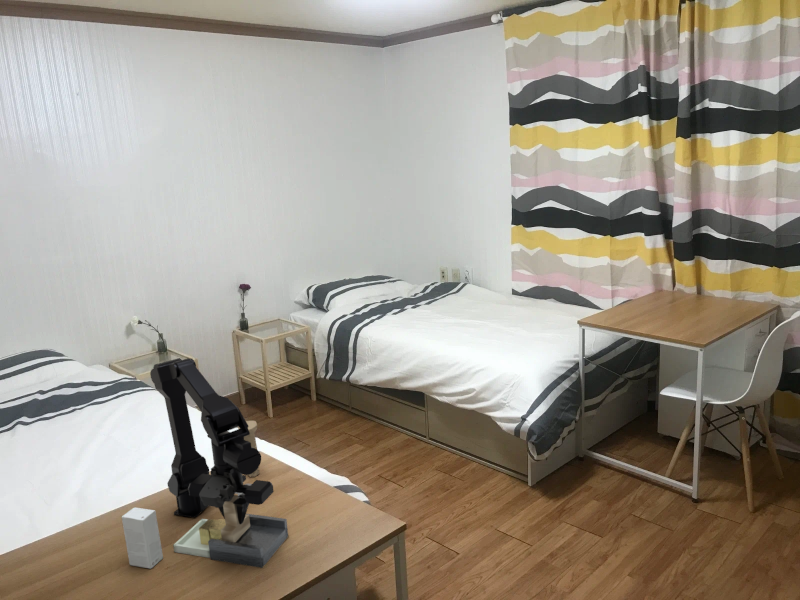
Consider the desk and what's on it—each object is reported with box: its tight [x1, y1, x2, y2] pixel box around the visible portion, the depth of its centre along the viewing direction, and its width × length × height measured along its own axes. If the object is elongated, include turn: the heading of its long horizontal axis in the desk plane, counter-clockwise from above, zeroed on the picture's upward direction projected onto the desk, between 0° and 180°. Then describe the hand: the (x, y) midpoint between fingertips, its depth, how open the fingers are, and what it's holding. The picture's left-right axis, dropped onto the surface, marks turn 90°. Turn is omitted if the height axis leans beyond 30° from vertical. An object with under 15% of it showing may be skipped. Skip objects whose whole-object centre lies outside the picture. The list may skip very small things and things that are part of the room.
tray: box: [173, 518, 219, 559], centre depth 148 cm, size 10×11×2 cm
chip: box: [209, 518, 226, 540], centre depth 145 cm, size 4×4×2 cm
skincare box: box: [121, 507, 164, 570], centre depth 140 cm, size 6×4×12 cm
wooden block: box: [199, 518, 218, 545], centre depth 147 cm, size 4×4×2 cm
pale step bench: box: [221, 494, 250, 542], centre depth 144 cm, size 3×7×9 cm, turn 162°
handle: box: [237, 420, 260, 478], centre depth 177 cm, size 5×6×15 cm
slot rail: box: [208, 513, 289, 569], centre depth 144 cm, size 13×12×4 cm
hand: (234, 522), depth 144 cm, fingers closed on pale step bench, 3 cm apart
